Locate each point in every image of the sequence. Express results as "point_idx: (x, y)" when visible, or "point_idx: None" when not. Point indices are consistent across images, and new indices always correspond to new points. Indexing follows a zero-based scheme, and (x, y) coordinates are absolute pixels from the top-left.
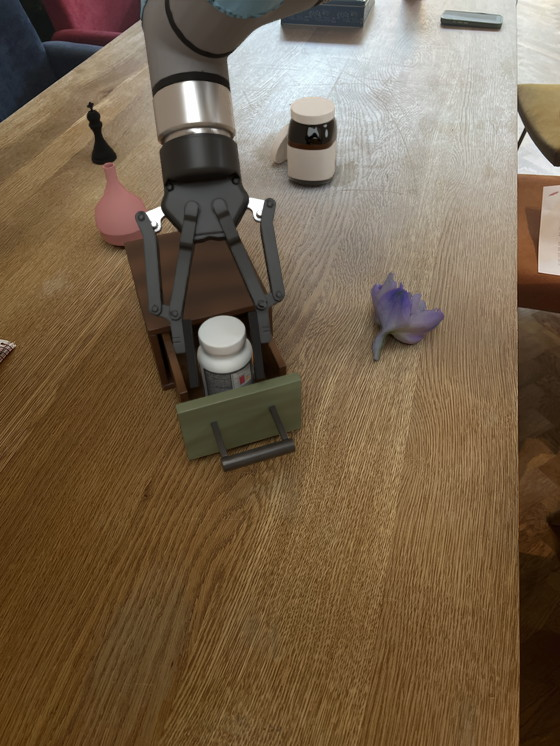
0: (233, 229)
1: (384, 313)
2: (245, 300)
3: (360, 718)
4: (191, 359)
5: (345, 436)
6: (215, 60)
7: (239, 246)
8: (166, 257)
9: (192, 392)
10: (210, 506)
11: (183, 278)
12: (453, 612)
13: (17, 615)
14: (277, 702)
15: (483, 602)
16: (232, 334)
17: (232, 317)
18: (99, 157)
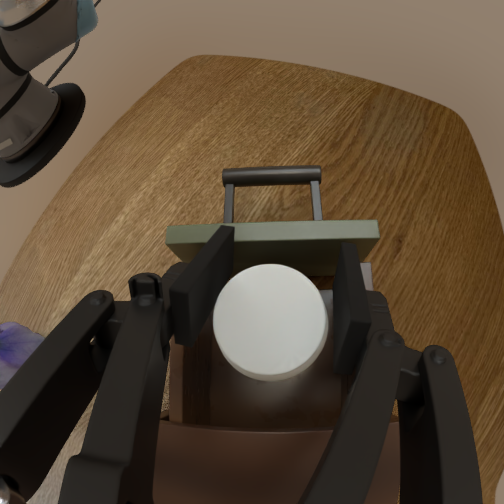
0: (72, 495)
1: (29, 349)
2: (187, 445)
3: (260, 64)
4: (351, 266)
5: (159, 247)
6: None
7: (97, 444)
8: None
9: (328, 362)
10: (334, 207)
11: (357, 419)
12: (174, 95)
13: (481, 172)
14: (307, 76)
15: (154, 98)
16: (248, 296)
17: (230, 356)
18: None
